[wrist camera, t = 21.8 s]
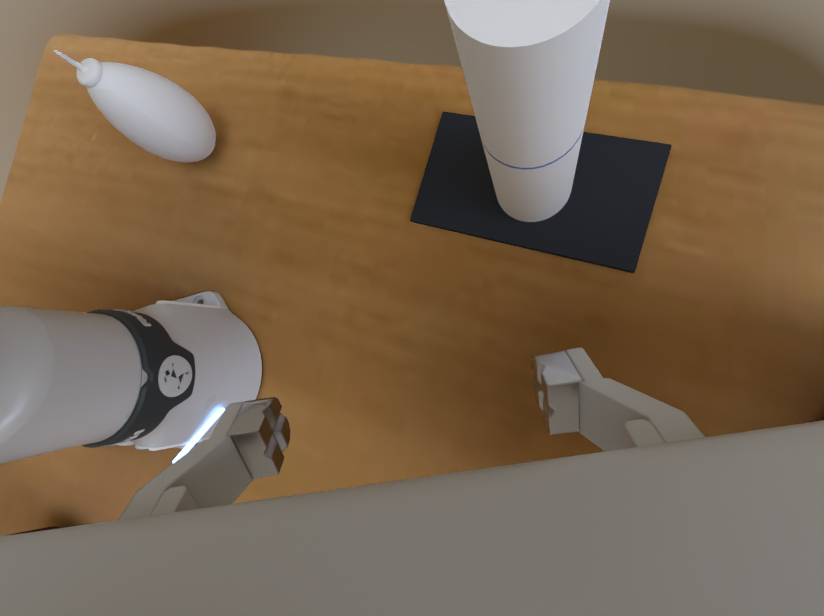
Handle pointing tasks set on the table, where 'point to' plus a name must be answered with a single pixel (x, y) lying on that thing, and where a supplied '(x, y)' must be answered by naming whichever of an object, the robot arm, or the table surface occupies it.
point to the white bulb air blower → (148, 109)
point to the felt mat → (574, 224)
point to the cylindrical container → (529, 92)
